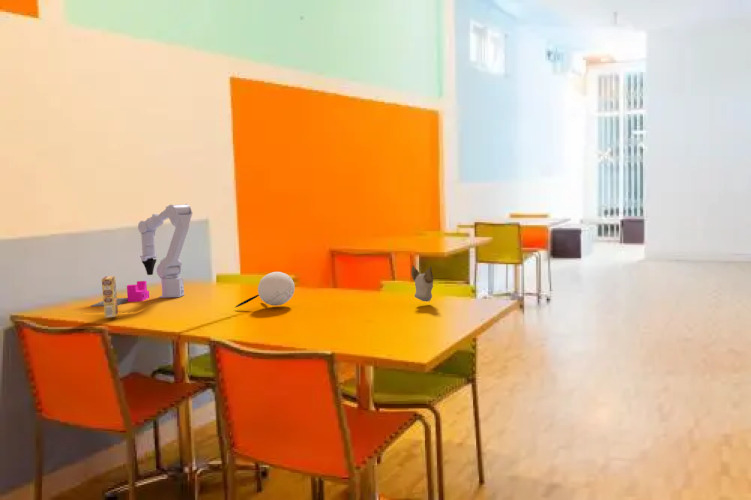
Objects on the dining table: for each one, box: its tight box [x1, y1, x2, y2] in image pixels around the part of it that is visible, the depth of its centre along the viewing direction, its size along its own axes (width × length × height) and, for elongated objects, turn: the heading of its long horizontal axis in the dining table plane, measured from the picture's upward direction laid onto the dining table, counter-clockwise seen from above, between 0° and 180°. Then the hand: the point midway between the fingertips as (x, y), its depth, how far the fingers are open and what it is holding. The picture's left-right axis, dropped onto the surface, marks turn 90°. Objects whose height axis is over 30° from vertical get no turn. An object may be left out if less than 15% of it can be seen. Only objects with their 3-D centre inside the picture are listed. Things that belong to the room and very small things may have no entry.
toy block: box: [126, 280, 150, 303], centre depth 326 cm, size 15×6×8 cm, turn 179°
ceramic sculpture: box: [410, 265, 434, 302], centre depth 289 cm, size 11×9×15 cm
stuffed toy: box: [235, 271, 295, 308], centre depth 295 cm, size 19×14×25 cm
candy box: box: [101, 275, 119, 319], centre depth 282 cm, size 9×4×15 cm, turn 13°
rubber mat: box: [90, 297, 128, 307], centre depth 318 cm, size 11×20×1 cm, turn 177°
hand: (150, 274), depth 339 cm, fingers closed
